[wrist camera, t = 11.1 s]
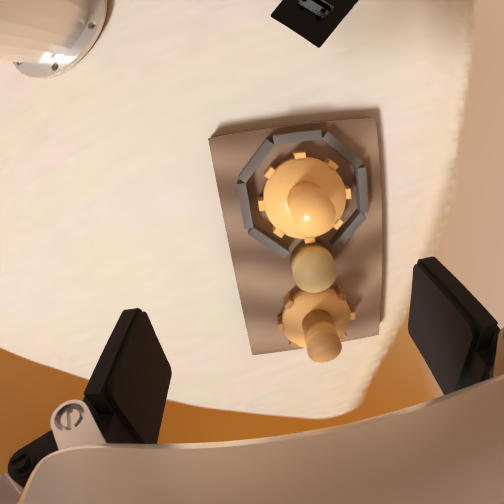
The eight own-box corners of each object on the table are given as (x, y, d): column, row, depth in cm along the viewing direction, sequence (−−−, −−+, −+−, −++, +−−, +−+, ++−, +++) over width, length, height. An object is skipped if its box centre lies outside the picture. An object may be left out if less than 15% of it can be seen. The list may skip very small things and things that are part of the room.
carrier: (210, 137, 28) (196, 144, 21) (370, 117, 27) (403, 120, 20) (252, 346, 38) (252, 393, 31) (375, 327, 37) (394, 369, 30)
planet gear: (251, 157, 28) (250, 168, 22) (341, 145, 27) (363, 154, 22) (265, 242, 31) (267, 272, 25) (348, 230, 30) (368, 256, 25)
